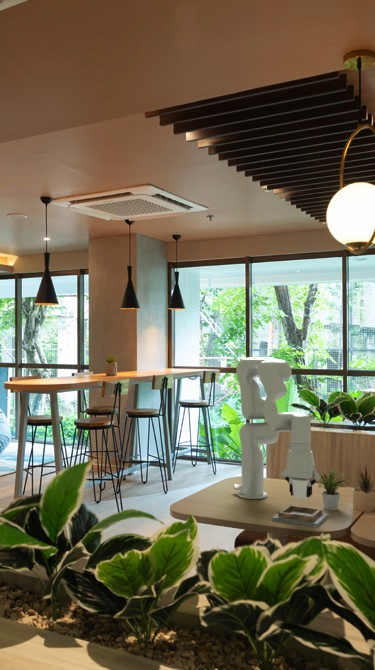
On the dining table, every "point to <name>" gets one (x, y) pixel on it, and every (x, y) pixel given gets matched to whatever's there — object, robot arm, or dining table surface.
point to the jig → (301, 515)
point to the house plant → (331, 490)
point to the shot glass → (299, 488)
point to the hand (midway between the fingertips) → (300, 495)
